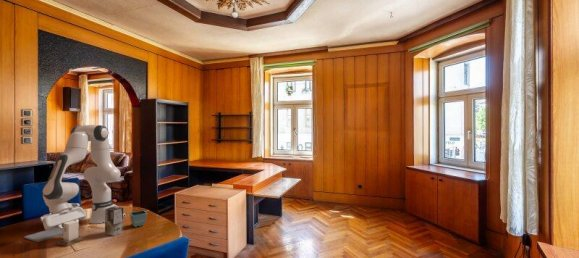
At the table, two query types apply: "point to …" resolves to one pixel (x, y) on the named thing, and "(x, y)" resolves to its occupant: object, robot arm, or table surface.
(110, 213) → the coffee box
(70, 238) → the cream block
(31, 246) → the table surface
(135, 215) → the flower pot
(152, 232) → the table surface
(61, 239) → the walnut pocket
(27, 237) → the slate board
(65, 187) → the robot arm
